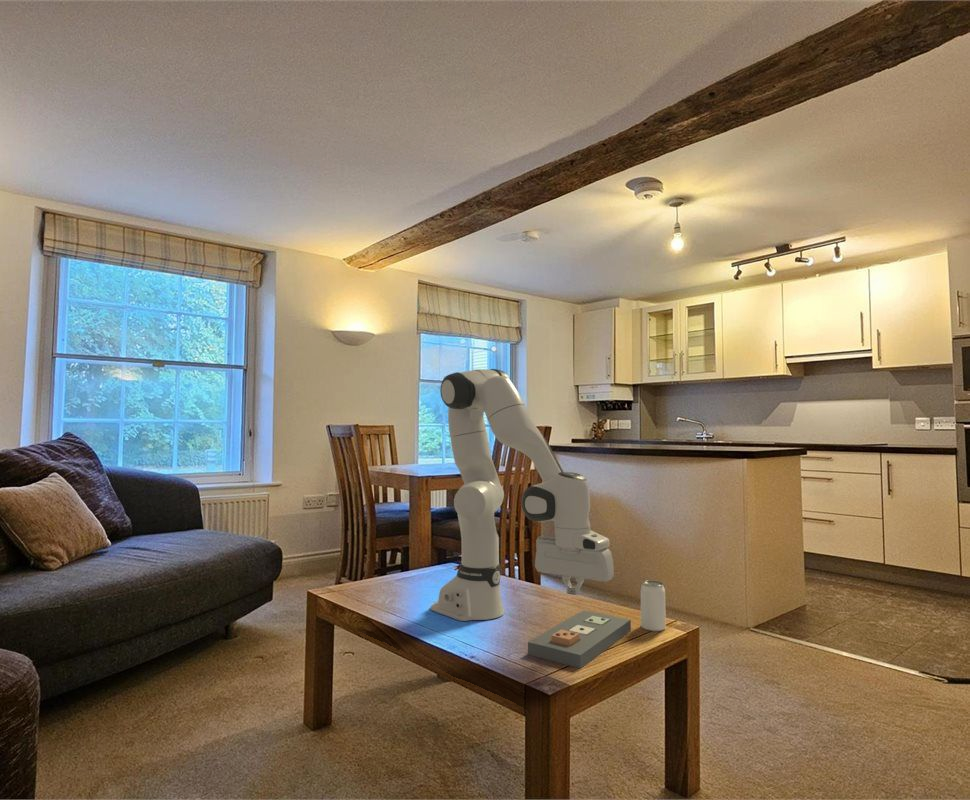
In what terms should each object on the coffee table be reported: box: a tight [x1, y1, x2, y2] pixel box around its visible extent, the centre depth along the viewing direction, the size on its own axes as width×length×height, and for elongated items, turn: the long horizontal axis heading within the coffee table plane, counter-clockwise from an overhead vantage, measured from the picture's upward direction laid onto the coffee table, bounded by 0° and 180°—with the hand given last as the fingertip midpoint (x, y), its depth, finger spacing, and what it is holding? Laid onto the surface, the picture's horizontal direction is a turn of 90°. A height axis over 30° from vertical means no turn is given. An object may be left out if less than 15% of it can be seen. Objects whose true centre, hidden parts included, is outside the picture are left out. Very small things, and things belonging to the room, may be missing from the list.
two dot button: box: [584, 616, 610, 626], centre depth 157 cm, size 5×5×3 cm
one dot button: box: [569, 625, 595, 636], centre depth 150 cm, size 5×5×3 cm
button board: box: [527, 609, 632, 669], centre depth 150 cm, size 14×30×3 cm, turn 144°
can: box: [640, 580, 667, 632], centre depth 161 cm, size 6×6×12 cm
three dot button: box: [551, 630, 579, 647], centre depth 142 cm, size 5×5×3 cm
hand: (573, 594), depth 146 cm, fingers closed
